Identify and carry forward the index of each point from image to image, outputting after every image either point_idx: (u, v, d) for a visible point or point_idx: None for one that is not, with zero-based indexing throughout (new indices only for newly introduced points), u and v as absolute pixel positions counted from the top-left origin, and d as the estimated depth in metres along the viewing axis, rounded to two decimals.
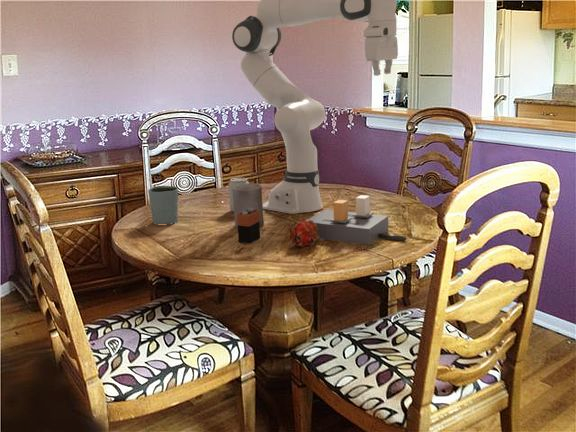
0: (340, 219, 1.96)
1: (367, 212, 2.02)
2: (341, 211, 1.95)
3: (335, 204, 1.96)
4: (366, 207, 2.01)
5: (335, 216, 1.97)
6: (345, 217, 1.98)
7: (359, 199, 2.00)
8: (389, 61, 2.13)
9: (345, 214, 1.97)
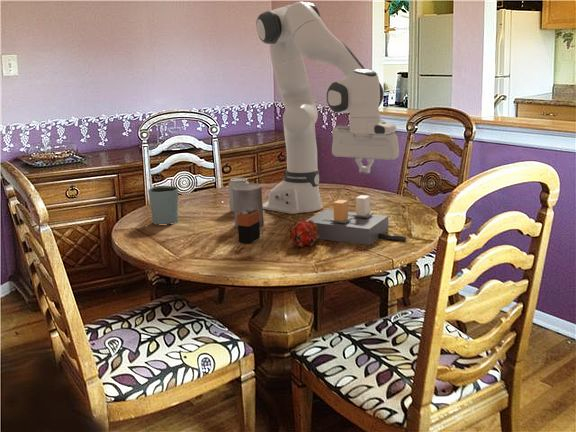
0: (340, 219, 1.96)
1: (367, 212, 2.02)
2: (341, 211, 1.95)
3: (335, 204, 1.96)
4: (366, 207, 2.01)
5: (335, 216, 1.97)
6: (345, 217, 1.98)
7: (359, 199, 2.00)
8: (361, 159, 1.91)
9: (345, 214, 1.97)
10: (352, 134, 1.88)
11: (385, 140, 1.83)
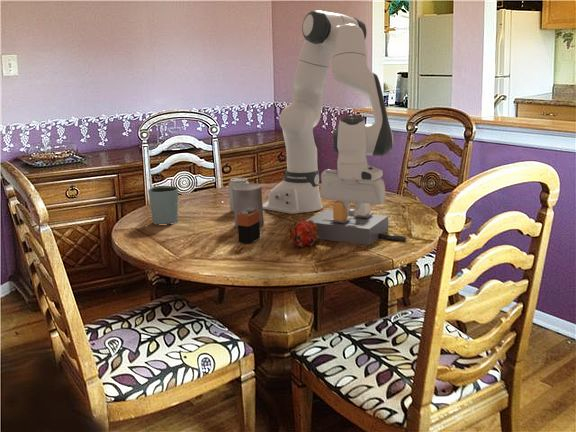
0: (340, 219, 1.96)
1: (367, 212, 2.02)
2: (341, 211, 1.96)
3: (335, 204, 1.96)
4: (366, 207, 2.01)
5: (335, 216, 1.97)
6: (345, 217, 1.98)
7: None
8: (349, 202, 1.96)
9: (345, 214, 1.98)
10: (340, 178, 1.93)
11: (372, 186, 1.89)
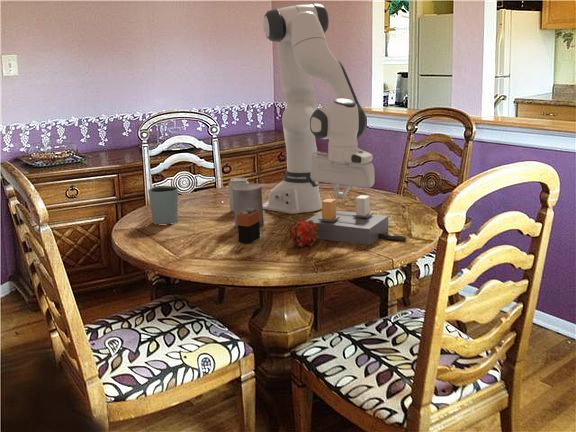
0: (328, 218, 1.98)
1: (367, 212, 2.02)
2: (329, 210, 1.97)
3: (323, 203, 1.98)
4: (366, 207, 2.01)
5: (323, 215, 1.99)
6: (333, 216, 2.00)
7: (359, 199, 2.00)
8: (338, 185, 1.97)
9: (333, 213, 1.99)
10: (330, 161, 1.94)
11: (362, 169, 1.89)
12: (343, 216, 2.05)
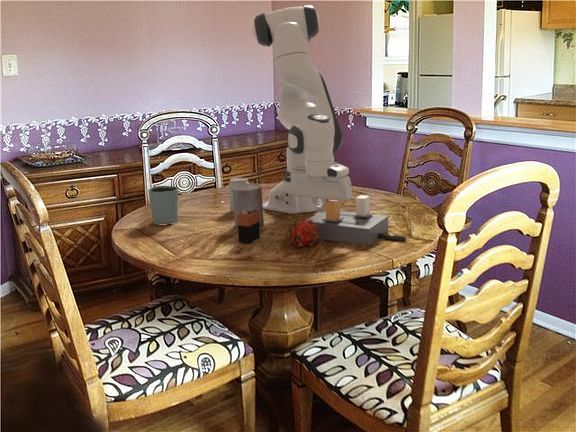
0: (332, 218, 1.98)
1: (367, 212, 2.02)
2: (333, 210, 1.97)
3: (327, 203, 1.97)
4: (366, 207, 2.01)
5: (327, 215, 1.98)
6: (337, 216, 1.99)
7: (359, 199, 2.00)
8: (317, 198, 2.01)
9: (337, 213, 1.99)
10: (308, 176, 1.98)
11: (338, 183, 1.93)
12: (343, 216, 2.05)
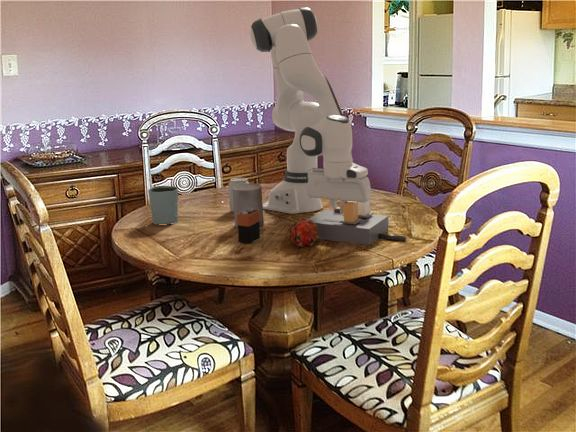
0: (350, 220, 1.95)
1: (367, 212, 2.02)
2: (351, 212, 1.94)
3: (345, 205, 1.94)
4: (366, 207, 2.01)
5: (345, 217, 1.95)
6: (355, 218, 1.96)
7: None
8: (335, 200, 1.98)
9: (355, 215, 1.96)
10: (326, 177, 1.95)
11: (357, 184, 1.90)
12: (343, 216, 2.05)
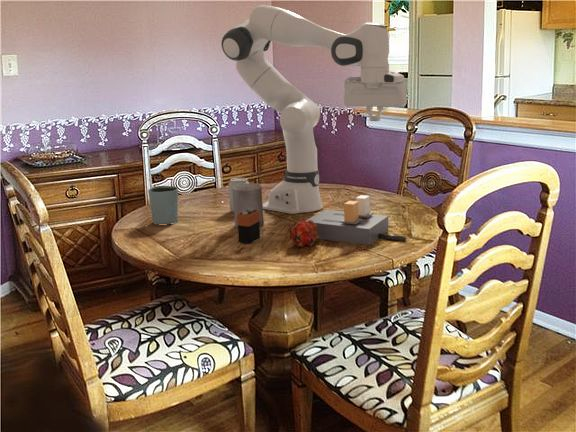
0: (351, 220, 1.95)
1: (367, 212, 2.02)
2: (352, 212, 1.94)
3: (345, 205, 1.94)
4: (366, 207, 2.01)
5: (345, 217, 1.95)
6: (355, 218, 1.96)
7: (359, 199, 2.00)
8: (372, 108, 2.04)
9: (355, 215, 1.96)
10: (363, 84, 2.01)
11: (394, 89, 1.97)
12: (343, 216, 2.05)
